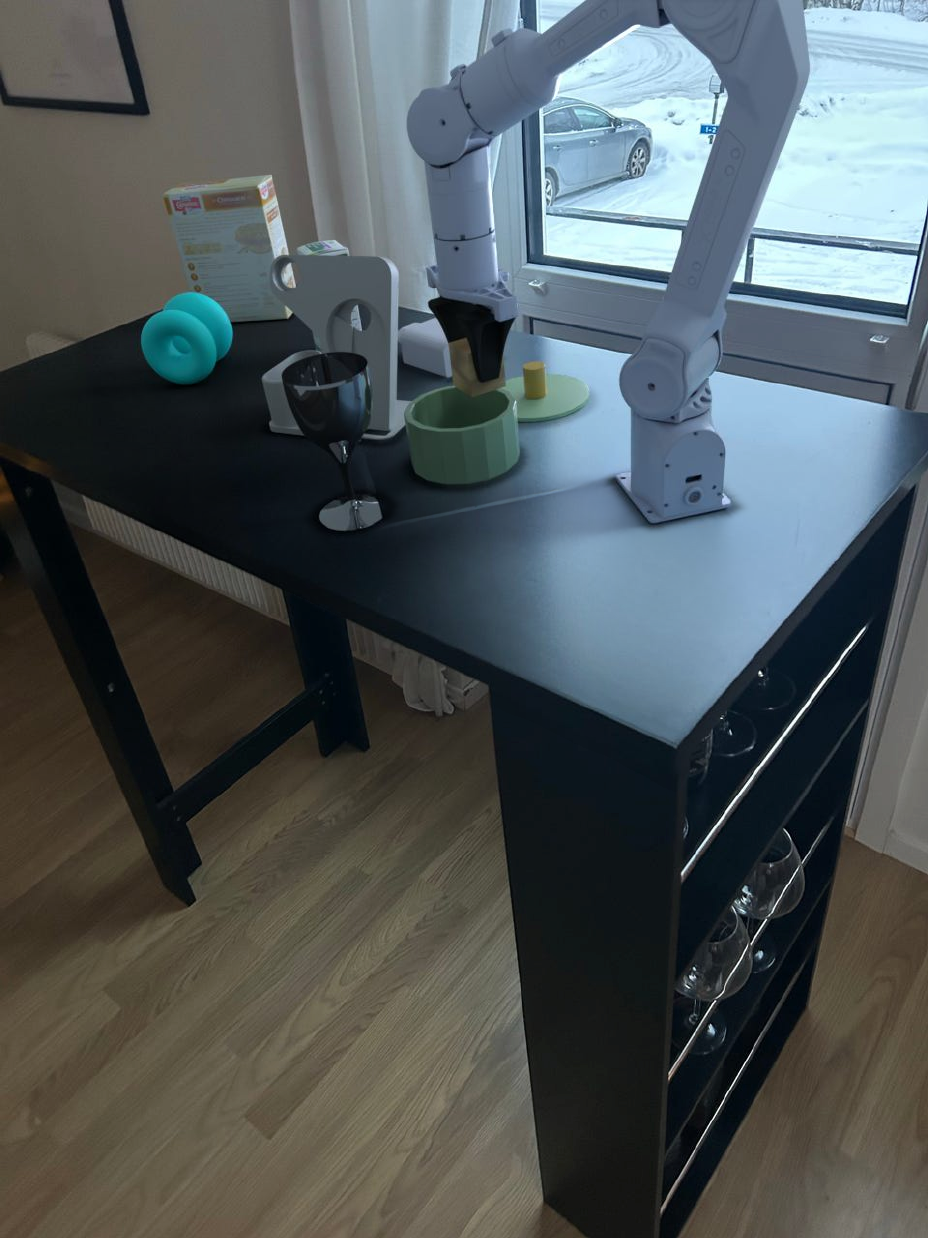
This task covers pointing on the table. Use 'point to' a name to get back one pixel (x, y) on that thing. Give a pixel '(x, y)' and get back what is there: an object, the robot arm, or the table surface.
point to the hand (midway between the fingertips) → (478, 372)
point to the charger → (426, 347)
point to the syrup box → (331, 250)
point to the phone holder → (342, 328)
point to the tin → (462, 435)
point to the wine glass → (335, 424)
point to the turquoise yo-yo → (187, 338)
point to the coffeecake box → (231, 243)
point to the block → (470, 371)
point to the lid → (545, 394)
